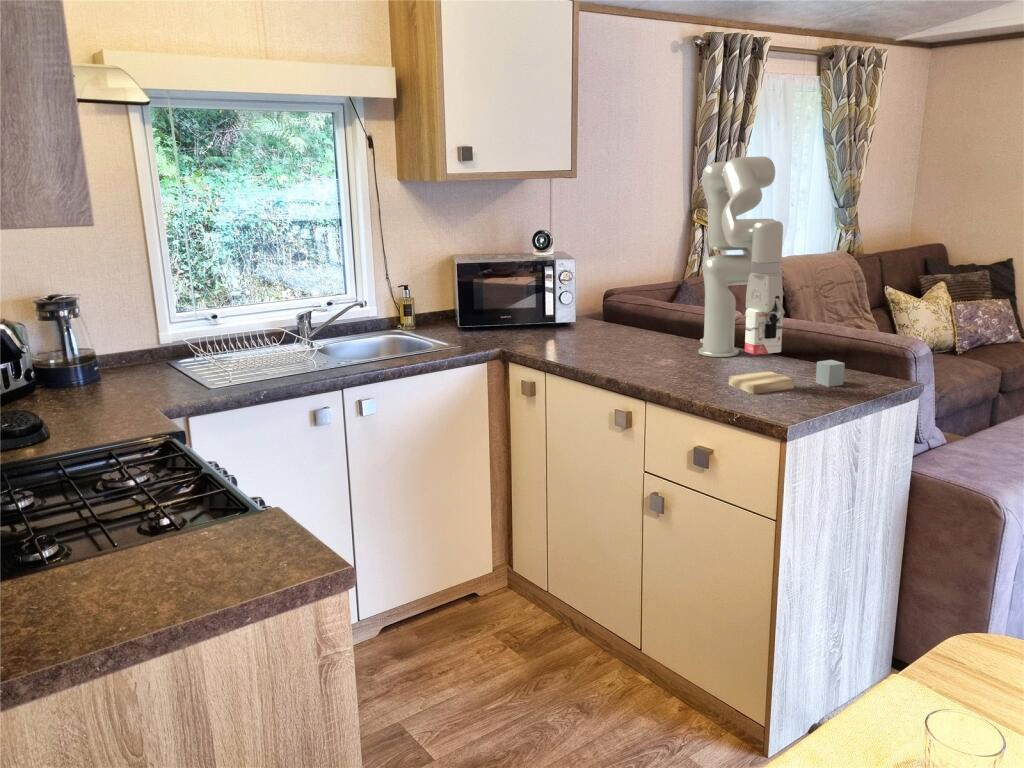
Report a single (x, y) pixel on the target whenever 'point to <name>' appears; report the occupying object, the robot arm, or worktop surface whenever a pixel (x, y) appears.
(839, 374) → the light gray block
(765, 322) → the ink box
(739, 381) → the oak slab
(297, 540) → the worktop surface
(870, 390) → the worktop surface
